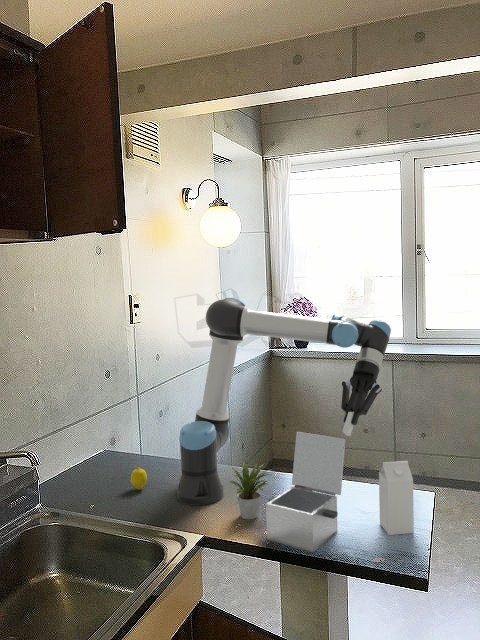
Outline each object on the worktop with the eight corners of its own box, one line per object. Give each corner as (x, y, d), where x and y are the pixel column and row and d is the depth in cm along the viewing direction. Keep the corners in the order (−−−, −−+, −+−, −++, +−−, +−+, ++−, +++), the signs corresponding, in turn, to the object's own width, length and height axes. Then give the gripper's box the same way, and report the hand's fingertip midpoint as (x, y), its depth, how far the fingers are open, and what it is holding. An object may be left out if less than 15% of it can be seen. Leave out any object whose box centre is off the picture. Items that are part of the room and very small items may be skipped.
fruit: (148, 485, 194) (146, 463, 193) (147, 491, 188) (146, 468, 188) (131, 487, 193) (130, 464, 193) (130, 493, 188) (129, 469, 187)
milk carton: (379, 524, 158) (378, 458, 157) (404, 522, 159) (403, 456, 157) (388, 535, 151) (387, 466, 150) (414, 533, 152) (413, 465, 150)
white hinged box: (258, 536, 153) (256, 501, 152) (284, 518, 164) (283, 484, 163) (323, 556, 141) (322, 517, 140) (347, 534, 153) (346, 498, 152)
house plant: (260, 531, 156) (258, 474, 155) (217, 523, 162) (215, 468, 161) (280, 511, 169) (278, 458, 167) (239, 504, 175) (237, 453, 174)
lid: (296, 431, 164) (301, 431, 167) (291, 486, 162) (296, 485, 165) (344, 438, 155) (348, 438, 158) (339, 496, 154) (343, 495, 156)
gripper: (391, 373, 174) (371, 442, 164) (354, 370, 182) (332, 436, 172) (383, 360, 169) (361, 431, 159) (344, 358, 178) (321, 425, 167)
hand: (346, 433), depth 165 cm, fingers closed
